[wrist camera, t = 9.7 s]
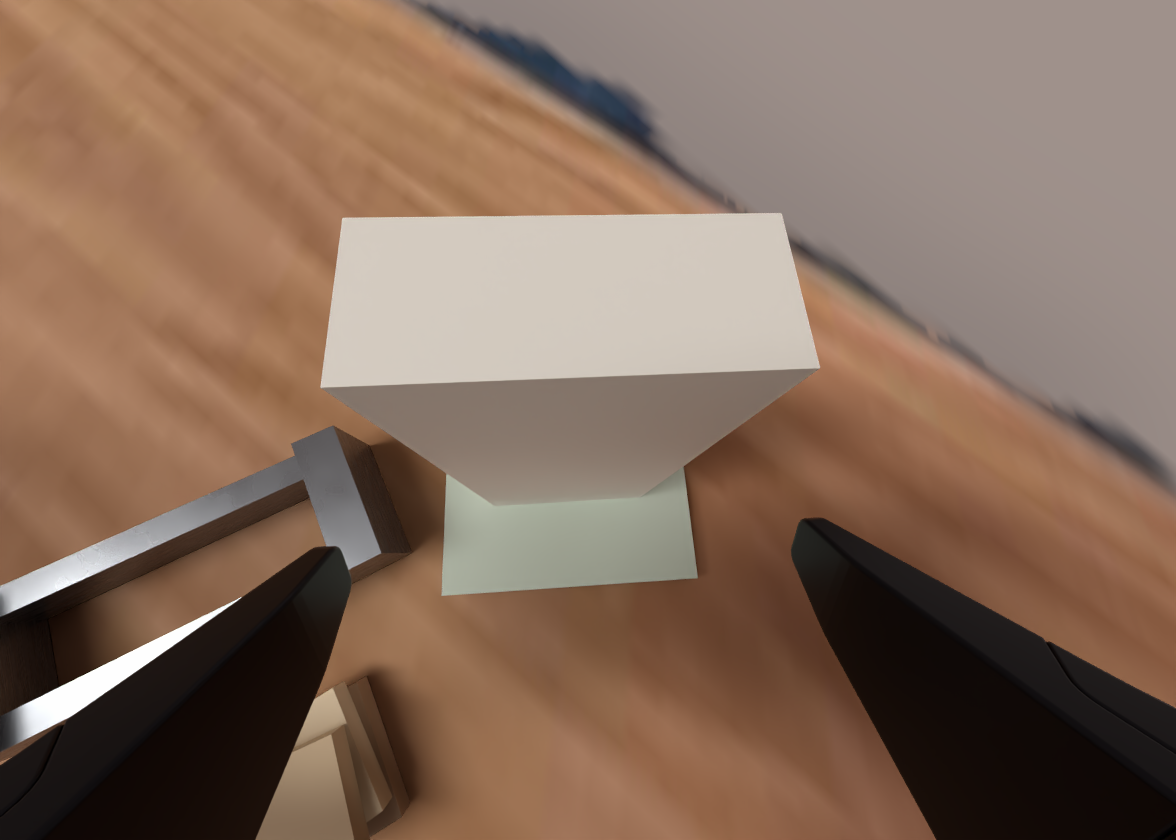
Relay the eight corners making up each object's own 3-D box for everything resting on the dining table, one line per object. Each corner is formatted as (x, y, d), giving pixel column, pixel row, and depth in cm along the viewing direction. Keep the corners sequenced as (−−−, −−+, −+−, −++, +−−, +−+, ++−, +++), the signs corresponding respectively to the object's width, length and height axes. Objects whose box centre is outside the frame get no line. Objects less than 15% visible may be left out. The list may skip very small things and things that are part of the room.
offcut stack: (411, 806, 15) (383, 854, 12) (154, 968, 13) (67, 1057, 11) (364, 669, 16) (330, 689, 13) (122, 803, 14) (37, 851, 12)
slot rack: (411, 553, 17) (381, 553, 14) (16, 755, 14) (-120, 805, 12) (369, 445, 18) (333, 425, 15) (-4, 614, 16) (-131, 627, 13)
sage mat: (694, 577, 17) (697, 577, 17) (445, 594, 17) (441, 595, 16) (668, 374, 20) (671, 370, 20) (452, 382, 19) (450, 377, 19)
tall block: (640, 497, 18) (819, 368, 5) (494, 506, 17) (320, 387, 5) (634, 441, 18) (781, 212, 6) (494, 448, 18) (342, 218, 6)
